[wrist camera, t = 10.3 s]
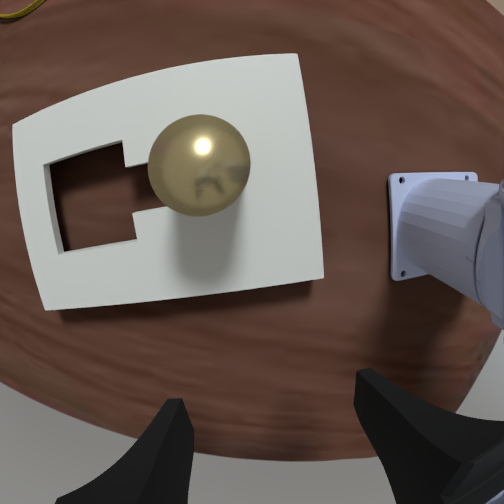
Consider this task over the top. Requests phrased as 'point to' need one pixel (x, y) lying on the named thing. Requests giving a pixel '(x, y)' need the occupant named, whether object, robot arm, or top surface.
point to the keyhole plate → (165, 219)
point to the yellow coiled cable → (20, 13)
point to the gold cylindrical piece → (199, 165)
